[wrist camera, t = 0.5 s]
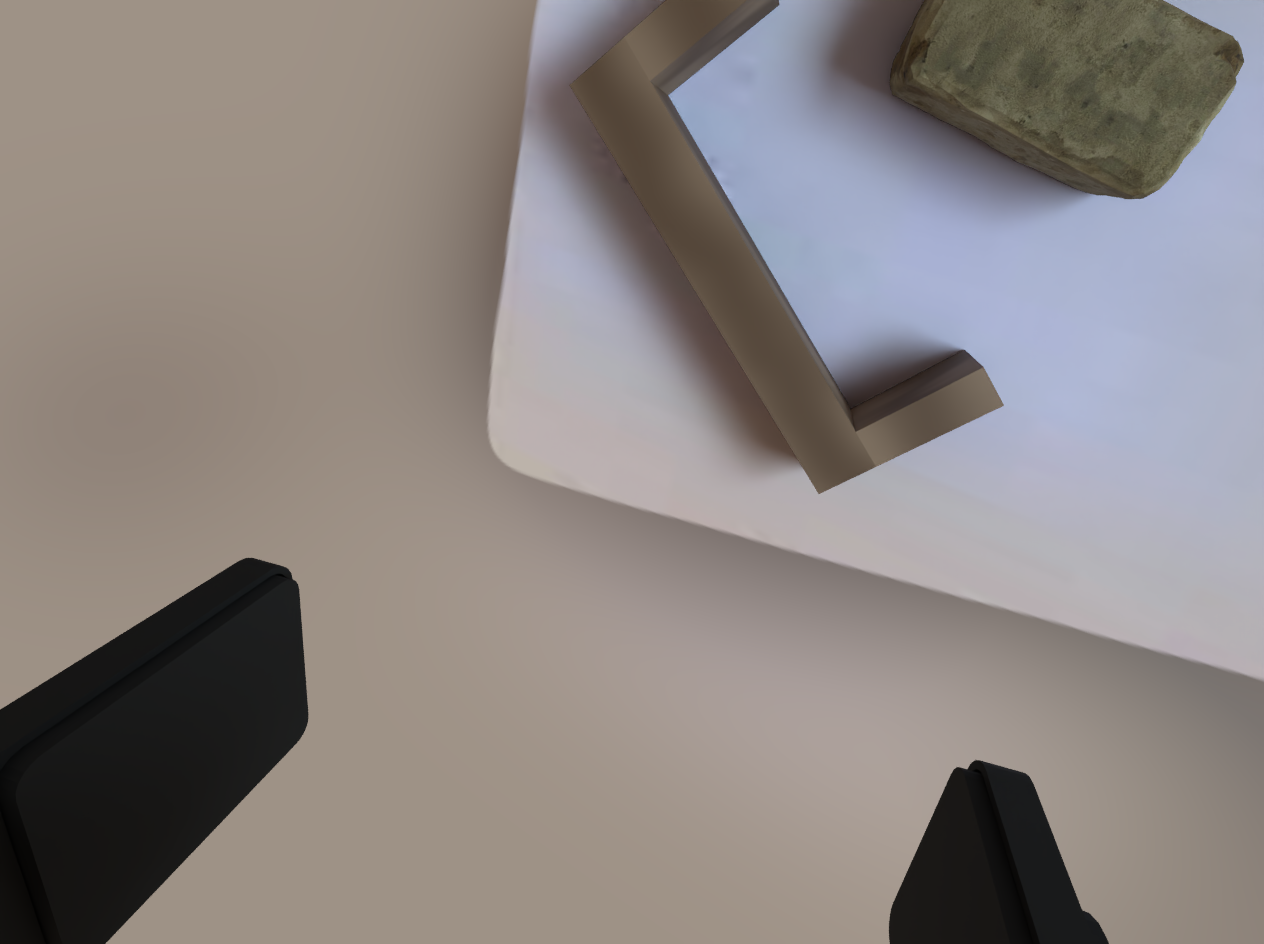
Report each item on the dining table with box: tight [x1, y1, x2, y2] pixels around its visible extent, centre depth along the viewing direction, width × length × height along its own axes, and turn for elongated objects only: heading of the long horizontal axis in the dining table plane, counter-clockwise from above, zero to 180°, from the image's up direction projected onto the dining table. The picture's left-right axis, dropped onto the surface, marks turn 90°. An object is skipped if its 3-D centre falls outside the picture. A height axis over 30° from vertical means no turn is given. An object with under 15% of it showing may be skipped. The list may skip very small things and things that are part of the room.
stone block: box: [889, 0, 1244, 199], centre depth 26 cm, size 6×12×5 cm, turn 65°
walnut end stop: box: [570, 0, 1004, 494], centre depth 31 cm, size 9×22×4 cm, turn 34°
